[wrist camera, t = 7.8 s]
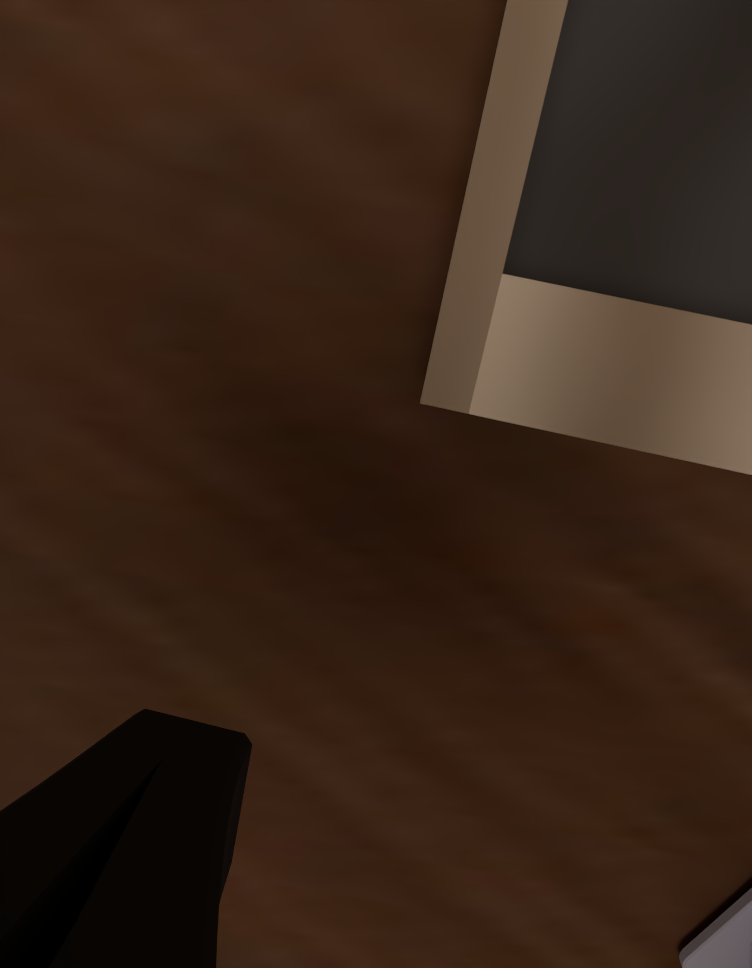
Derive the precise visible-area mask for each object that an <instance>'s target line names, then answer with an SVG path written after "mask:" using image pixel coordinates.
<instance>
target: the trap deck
mask: <svg viewBox="0 0 752 968" xmlns="http://www.w3.org/2000/svg"><path fill="white" fill-rule="evenodd" d="M420 404H425V405H430V406H434V407H439V408H444V409H448V410H453V411H458V412H462V413H467V414H472V415H476V416H481V417H485V418H490V419H495V420H499V421H504V422H509V423H513V424H518V425H523V426H527V427H532V428H537V429H541V430H546V431H550V432H555V433H560V434H564V435H569V436H574V437H578V438H583V439H588V440H592V441H597V442H602V443H606V444H611V445H615V446H620V447H625V448H629V449H634V450H639V451H643V452H648V453H653V454H657V455H662V456H667V457H671V458H676V459H680V460H685V461H690V462H694V463H699V464H704V465H708V466H713V467H718V468H722V469H727V470H732V471H736V472H741V473H745V474H750V475H752V0H507V4H506V9H505V14H504V18H503V23H502V27H501V32H500V37H499V41H498V46H497V50H496V55H495V60H494V64H493V69H492V73H491V78H490V83H489V87H488V92H487V96H486V101H485V106H484V110H483V115H482V119H481V124H480V129H479V133H478V138H477V142H476V147H475V152H474V156H473V161H472V166H471V170H470V175H469V179H468V184H467V189H466V193H465V198H464V202H463V207H462V212H461V216H460V221H459V225H458V230H457V235H456V239H455V244H454V248H453V253H452V258H451V262H450V267H449V271H448V276H447V281H446V285H445V290H444V294H443V299H442V304H441V308H440V313H439V317H438V322H437V327H436V331H435V336H434V340H433V345H432V350H431V354H430V359H429V363H428V368H427V373H426V377H425V382H424V387H423V391H422V396H421V400H420Z"/></svg>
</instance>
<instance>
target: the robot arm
mask: <svg viewBox="0 0 752 968" xmlns="http://www.w3.org/2000/svg"><path fill="white" fill-rule="evenodd" d="M251 748H252V743H251V742H250V740H249V739H248V737H247V736H246V735H245V733H241V732H237V731H233V730H229V729H225V728H221V727H217V726H213V725H209V724H205V723H201V722H196V721H192V720H188V719H184V718H180V717H176V716H172V715H168V714H164V713H160V712H156V711H152V710H148V709H144V710H142V711H140V712H138V713H137V714H135V715H133V716H132V717H131V718H129V719H128V720H127V721H125V722H124V723H122V724H121V725H120V726H118V727H117V728H116V729H114V730H113V731H112V732H110V733H109V734H108V735H106V736H105V737H104V738H102V739H101V740H100V741H98V742H97V743H96V744H94V745H93V746H92V747H90V748H89V749H87V750H86V751H85V752H83V753H82V754H81V755H79V756H78V757H77V758H75V759H74V760H72V761H71V762H70V763H68V764H67V765H65V766H64V767H63V768H61V769H60V770H59V771H57V772H56V773H54V774H53V775H52V776H50V777H49V778H47V779H46V780H45V781H43V782H42V783H40V784H39V785H38V786H36V787H35V788H33V789H32V790H30V791H29V792H27V793H26V794H24V795H23V796H22V797H20V798H19V799H17V800H16V801H14V802H13V803H11V804H10V805H8V806H7V807H6V808H4V809H3V810H1V811H0V968H216V952H217V930H218V913H219V903H220V899H221V895H222V892H223V889H224V885H225V882H226V879H227V876H228V872H229V869H230V866H231V862H232V857H233V851H234V845H235V840H236V834H237V828H238V822H239V817H240V811H241V805H242V800H243V794H244V788H245V782H246V777H247V771H248V765H249V760H250V754H251ZM679 959H680V963H681V966H682V968H752V888H751V889H750V890H748V891H747V892H746V893H745V894H744V895H743V896H742V897H741V898H739V899H738V900H737V901H736V902H735V903H734V904H733V905H732V906H730V907H729V908H728V909H727V910H726V911H725V912H724V913H723V914H721V915H720V916H719V917H718V918H717V919H716V920H715V921H714V922H712V923H711V924H710V925H709V926H708V927H707V928H706V929H705V930H703V931H702V932H701V933H700V934H699V935H698V936H697V937H696V938H694V939H693V940H692V941H691V942H690V943H689V944H688V945H687V946H685V947H684V948H683V949H682V951H681V952H680V955H679Z"/></svg>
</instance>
